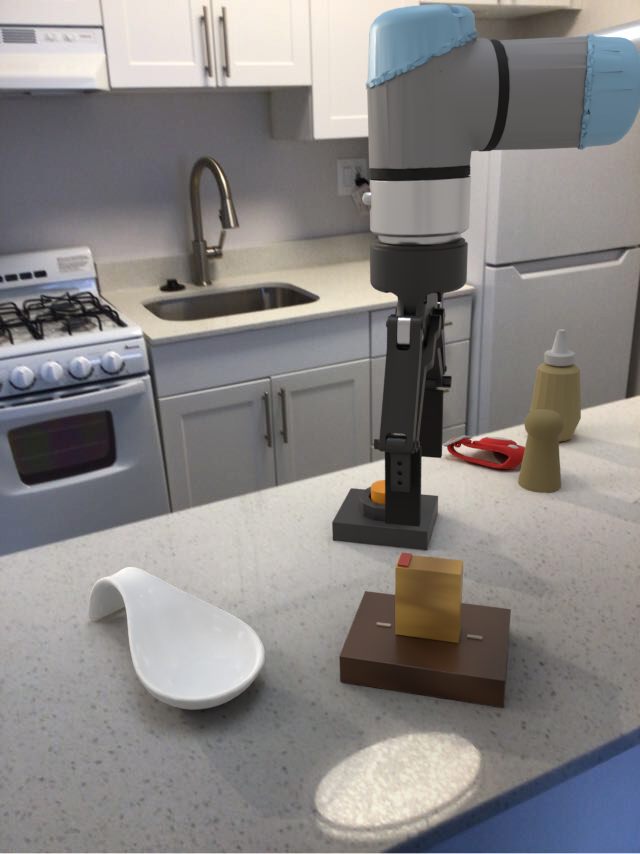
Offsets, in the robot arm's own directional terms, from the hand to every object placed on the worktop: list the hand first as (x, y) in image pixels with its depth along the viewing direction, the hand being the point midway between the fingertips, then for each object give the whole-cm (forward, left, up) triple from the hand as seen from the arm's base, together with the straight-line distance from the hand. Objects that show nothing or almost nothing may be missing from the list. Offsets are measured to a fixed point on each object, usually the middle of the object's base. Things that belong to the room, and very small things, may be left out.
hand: (416, 486), depth 66 cm
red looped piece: (-3, -52, -20) cm, 55 cm away
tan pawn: (-11, -44, -20) cm, 49 cm away
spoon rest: (+24, +4, -20) cm, 31 cm away
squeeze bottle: (-13, -63, -20) cm, 67 cm away
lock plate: (-1, -2, -19) cm, 19 cm away
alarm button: (+8, -27, -15) cm, 32 cm away
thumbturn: (-1, -2, -16) cm, 16 cm away
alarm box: (+8, -27, -19) cm, 34 cm away
